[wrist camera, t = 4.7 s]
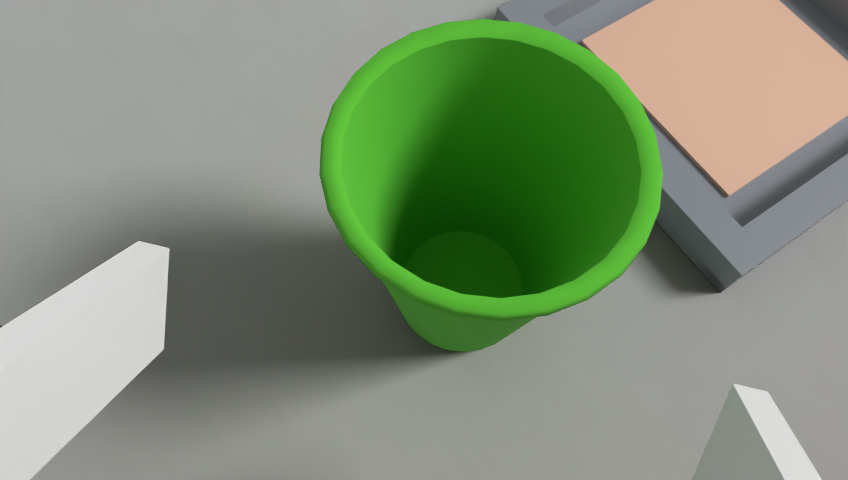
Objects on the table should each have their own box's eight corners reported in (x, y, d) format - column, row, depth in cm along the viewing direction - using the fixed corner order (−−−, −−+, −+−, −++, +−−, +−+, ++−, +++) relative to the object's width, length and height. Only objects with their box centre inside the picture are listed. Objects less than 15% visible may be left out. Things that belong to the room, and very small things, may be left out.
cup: (601, 248, 28) (708, 90, 18) (516, 445, 25) (592, 384, 15) (413, 163, 30) (417, -26, 20) (308, 338, 27) (250, 218, 16)
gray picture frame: (724, -87, 37) (741, -120, 35) (962, 117, 32) (995, 91, 30) (492, 36, 33) (497, 7, 31) (719, 292, 28) (742, 275, 26)
